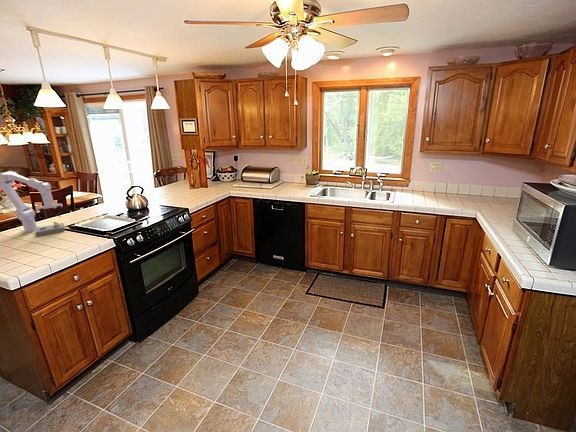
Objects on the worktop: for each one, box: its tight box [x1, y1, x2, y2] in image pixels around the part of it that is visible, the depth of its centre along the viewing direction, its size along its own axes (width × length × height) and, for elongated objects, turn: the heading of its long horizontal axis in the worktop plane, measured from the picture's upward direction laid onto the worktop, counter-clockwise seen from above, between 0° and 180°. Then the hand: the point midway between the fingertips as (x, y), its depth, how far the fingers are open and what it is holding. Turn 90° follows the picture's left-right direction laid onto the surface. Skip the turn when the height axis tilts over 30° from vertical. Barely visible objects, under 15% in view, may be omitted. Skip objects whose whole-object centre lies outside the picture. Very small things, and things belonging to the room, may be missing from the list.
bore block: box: [34, 222, 65, 237], centre depth 216 cm, size 12×16×3 cm
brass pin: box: [53, 221, 59, 227], centre depth 217 cm, size 2×2×6 cm
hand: (53, 217), depth 217 cm, fingers open, 7 cm apart
